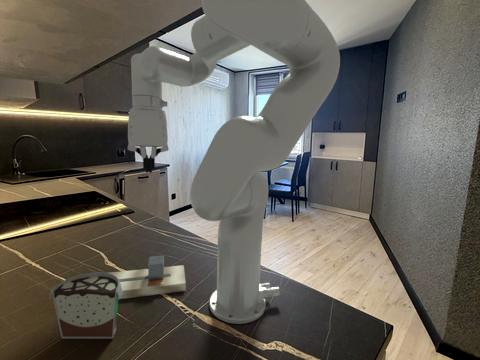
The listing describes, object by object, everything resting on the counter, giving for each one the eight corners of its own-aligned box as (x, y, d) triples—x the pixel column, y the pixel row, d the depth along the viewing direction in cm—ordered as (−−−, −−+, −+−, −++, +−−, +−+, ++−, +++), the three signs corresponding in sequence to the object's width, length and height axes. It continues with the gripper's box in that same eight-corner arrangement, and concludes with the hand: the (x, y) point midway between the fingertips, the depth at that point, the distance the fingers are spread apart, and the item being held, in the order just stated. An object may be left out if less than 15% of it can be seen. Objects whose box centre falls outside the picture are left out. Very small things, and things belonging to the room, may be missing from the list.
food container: (134, 315, 53) (132, 271, 51) (121, 338, 47) (119, 288, 45) (73, 315, 52) (70, 270, 51) (53, 338, 46) (48, 288, 45)
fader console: (183, 271, 70) (183, 264, 70) (185, 290, 62) (185, 282, 61) (95, 281, 64) (95, 273, 64) (84, 303, 56) (83, 294, 56)
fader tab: (164, 269, 66) (163, 255, 66) (163, 278, 62) (163, 263, 62) (149, 271, 65) (149, 256, 65) (148, 280, 61) (148, 265, 61)
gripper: (175, 108, 74) (176, 170, 77) (119, 104, 70) (122, 170, 73) (176, 104, 67) (176, 173, 70) (114, 100, 63) (117, 174, 66)
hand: (149, 171), depth 71 cm, fingers closed
